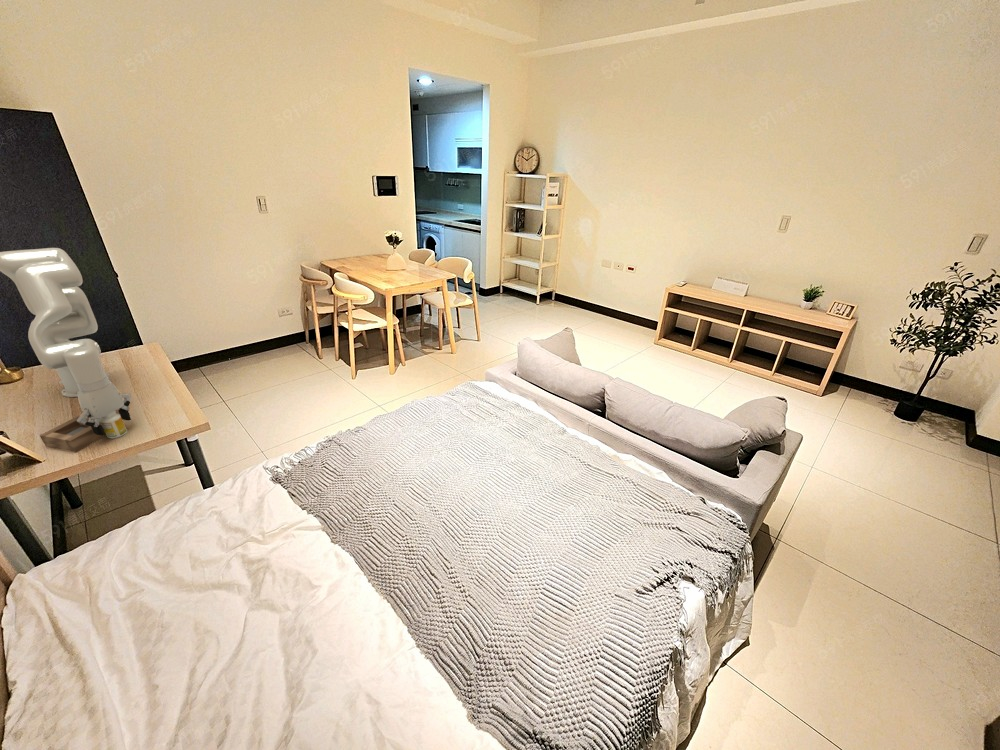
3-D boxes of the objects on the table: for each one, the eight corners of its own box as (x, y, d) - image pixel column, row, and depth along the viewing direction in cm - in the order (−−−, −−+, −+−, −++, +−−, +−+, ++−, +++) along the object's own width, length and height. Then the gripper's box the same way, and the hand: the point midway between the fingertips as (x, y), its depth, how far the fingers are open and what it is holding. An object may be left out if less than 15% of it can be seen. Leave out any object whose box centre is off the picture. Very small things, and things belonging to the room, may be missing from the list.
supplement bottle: (109, 440, 141) (98, 417, 136) (105, 434, 144) (94, 411, 139) (129, 434, 144) (118, 411, 140) (125, 427, 147) (115, 405, 143)
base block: (46, 447, 136) (39, 435, 134) (84, 427, 147) (78, 415, 144) (77, 453, 135) (70, 440, 133) (113, 432, 145) (107, 420, 143)
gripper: (110, 370, 142) (129, 412, 151) (54, 395, 127) (78, 440, 135) (129, 373, 141) (146, 415, 150) (74, 398, 126) (97, 443, 134)
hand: (114, 426), depth 142 cm, fingers open, 8 cm apart
